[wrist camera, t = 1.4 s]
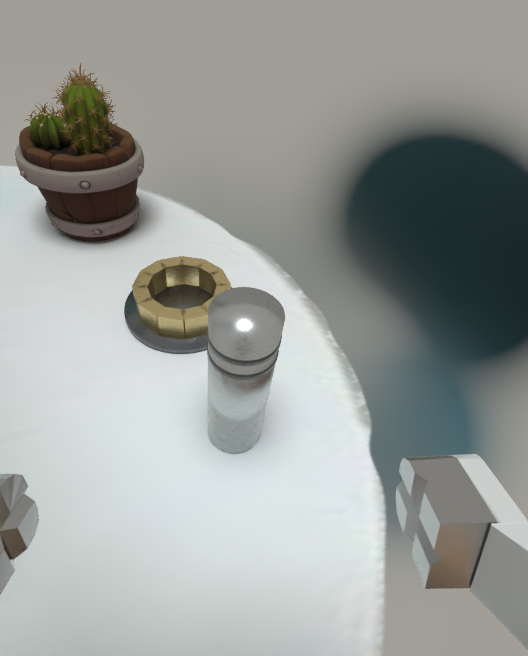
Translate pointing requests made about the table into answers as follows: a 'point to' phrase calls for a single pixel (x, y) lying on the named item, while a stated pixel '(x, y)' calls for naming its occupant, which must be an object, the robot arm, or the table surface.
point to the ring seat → (174, 304)
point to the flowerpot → (83, 164)
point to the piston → (241, 364)
